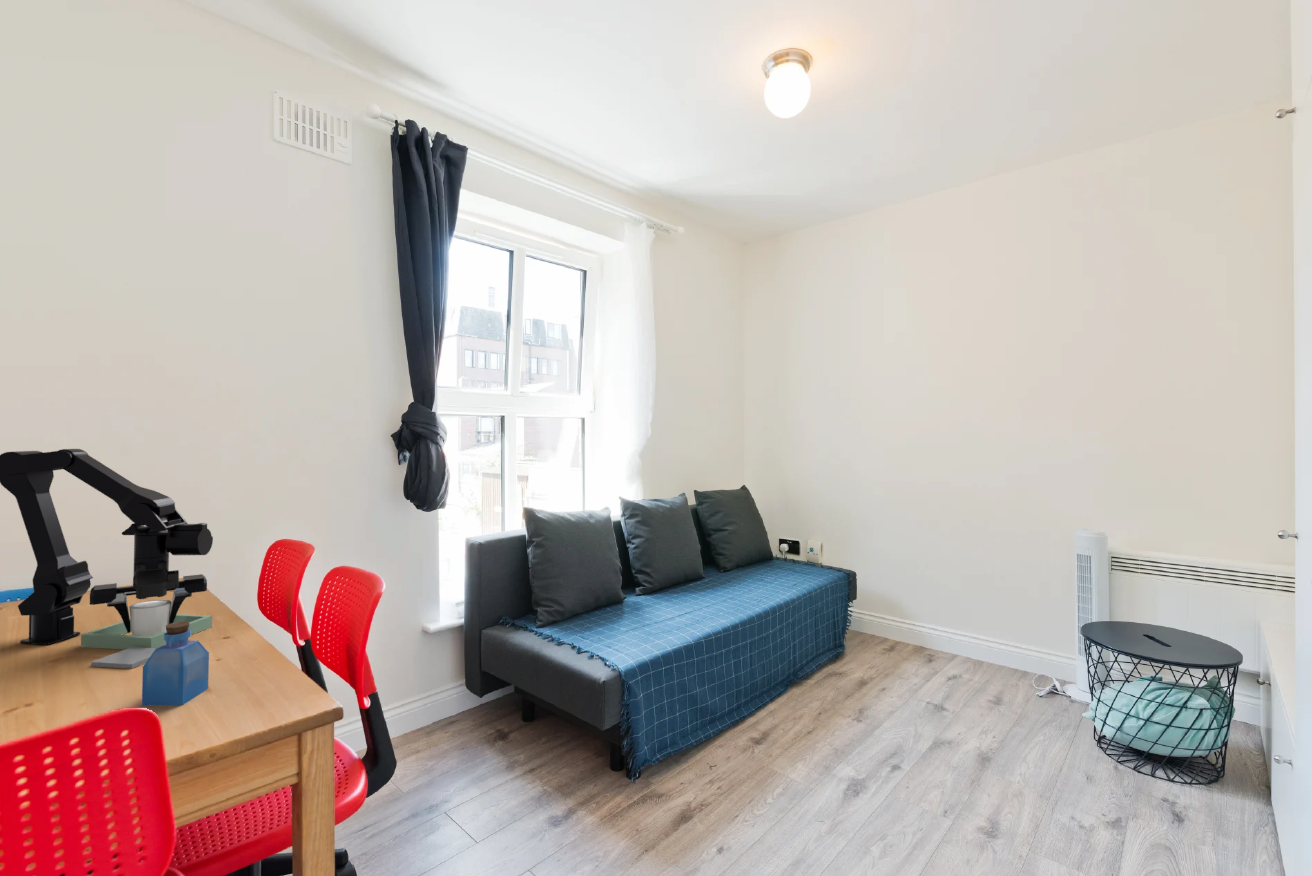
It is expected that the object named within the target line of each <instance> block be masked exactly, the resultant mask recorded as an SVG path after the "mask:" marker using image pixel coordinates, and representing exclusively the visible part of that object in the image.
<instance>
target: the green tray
mask: <svg viewBox="0 0 1312 876" xmlns="http://www.w3.org/2000/svg"><path fill="white" fill-rule="evenodd" d="M176 622H189V623H190V624H189V628H188V629H190V630H191V636H193V635H195V634H197V632H198V633H200V632H203V631H205V630H209V629H210V627H211V628H213V615H208V614H207V615H204V614H203V615H202V614H186V613H184V614H183V613H177V614H176V617H175V619H174V622H173V623H176ZM130 623H131V618H130ZM166 632H167V631H164V632H162V633H159V634H156V635H153V636H135V635H132V634H128V633H127V630H126V627H125V625H124V622H123V620H121V621H119V622H115V623H113V624H109V625H107V626H103V627H101V628H96V629H94V630H91V631H87V632H84V633H82V634H81V633H80V647H81V648H92V649H93V648H97V649H111V650H112V649H113V650H114V649H115V650H125V649H128V648H130V647H144V648H159V647H161V646H163V645H165V644H166V641H165V640H164V633H166ZM130 633H132V628H130ZM121 634H122V635H121ZM192 634H193V635H192Z"/></svg>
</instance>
